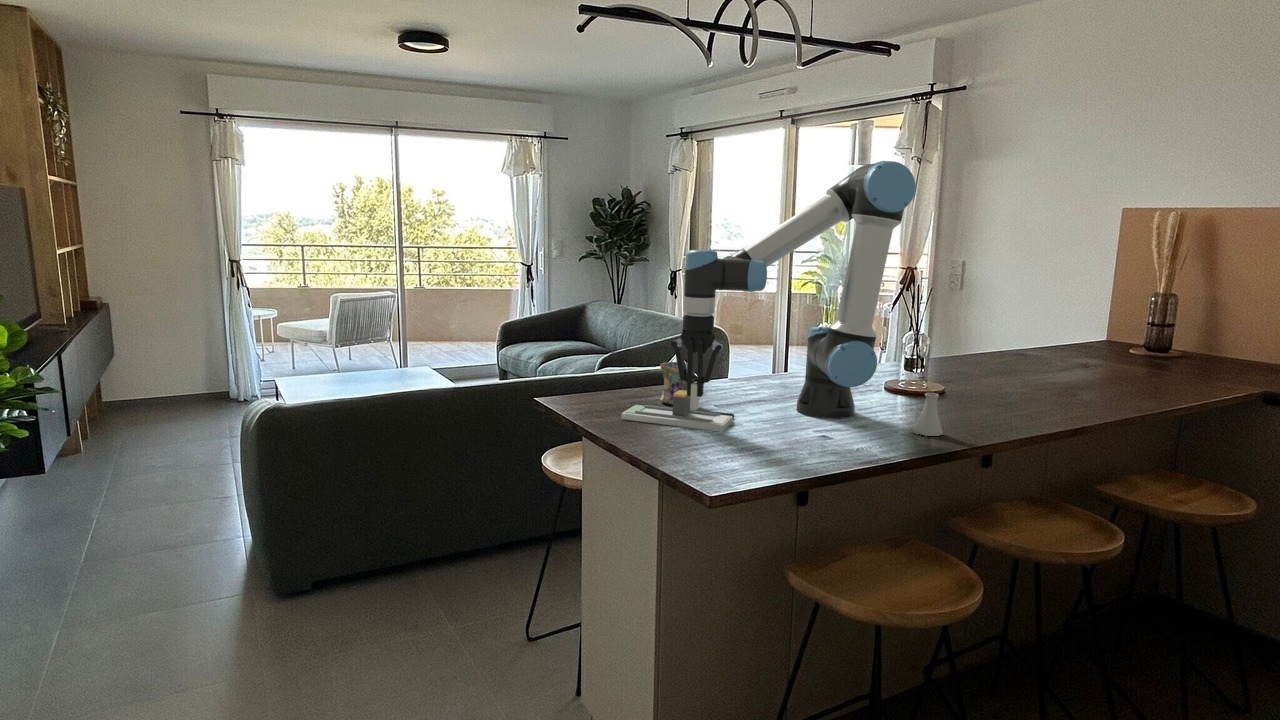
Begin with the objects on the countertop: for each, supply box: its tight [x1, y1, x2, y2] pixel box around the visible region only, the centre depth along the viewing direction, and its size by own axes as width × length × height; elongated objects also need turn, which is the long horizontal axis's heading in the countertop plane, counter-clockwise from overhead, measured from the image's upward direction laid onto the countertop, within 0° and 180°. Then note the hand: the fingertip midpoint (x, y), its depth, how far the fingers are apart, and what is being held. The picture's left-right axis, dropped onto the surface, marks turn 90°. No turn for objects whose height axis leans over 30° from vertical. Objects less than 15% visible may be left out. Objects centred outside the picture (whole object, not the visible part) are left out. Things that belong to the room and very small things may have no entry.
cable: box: [657, 405, 735, 419], centre depth 199 cm, size 23×1×1 cm, turn 73°
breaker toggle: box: [672, 390, 691, 416], centre depth 191 cm, size 3×5×6 cm, turn 160°
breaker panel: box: [621, 404, 734, 433], centre depth 192 cm, size 26×10×2 cm, turn 69°
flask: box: [912, 392, 944, 437], centre depth 186 cm, size 7×7×10 cm
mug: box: [659, 361, 688, 406], centre depth 212 cm, size 12×9×11 cm
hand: (694, 408), depth 190 cm, fingers closed
